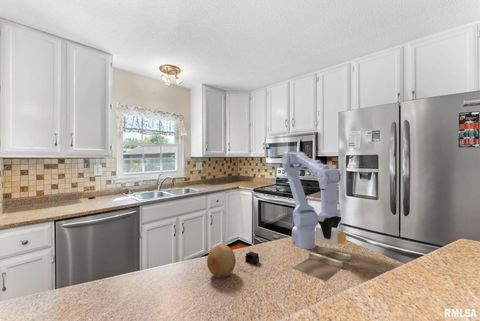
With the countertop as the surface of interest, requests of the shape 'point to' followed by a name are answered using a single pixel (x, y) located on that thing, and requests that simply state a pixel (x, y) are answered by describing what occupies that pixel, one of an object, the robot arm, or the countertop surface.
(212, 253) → the onion
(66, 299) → the countertop surface
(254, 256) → the black chunky block
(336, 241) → the white tall block
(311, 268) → the board
